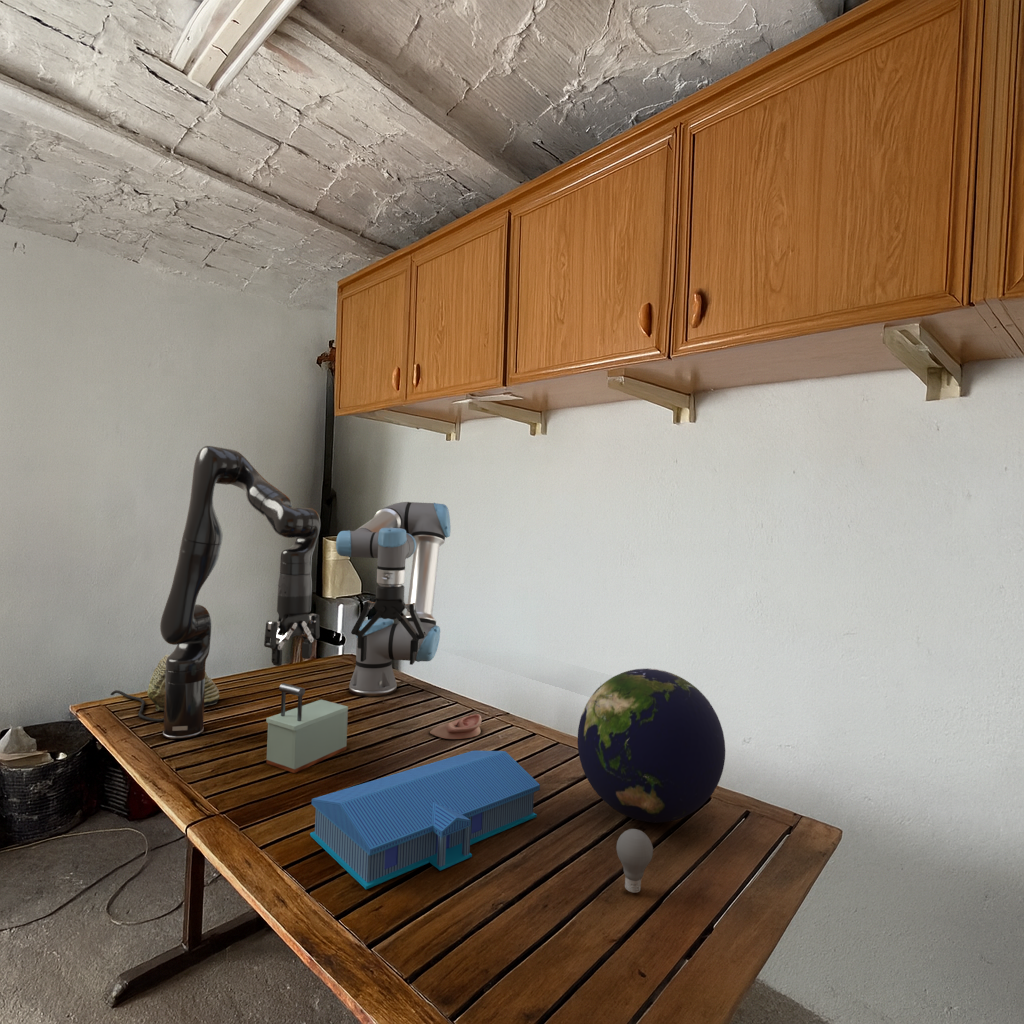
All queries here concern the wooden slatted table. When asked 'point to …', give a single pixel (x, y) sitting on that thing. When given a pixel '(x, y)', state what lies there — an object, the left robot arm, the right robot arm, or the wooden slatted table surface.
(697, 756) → the globe
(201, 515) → the left robot arm
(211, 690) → the fossil
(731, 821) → the wooden slatted table surface
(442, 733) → the anatomical model
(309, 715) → the lid
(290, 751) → the chest
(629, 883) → the light bulb
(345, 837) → the model building
